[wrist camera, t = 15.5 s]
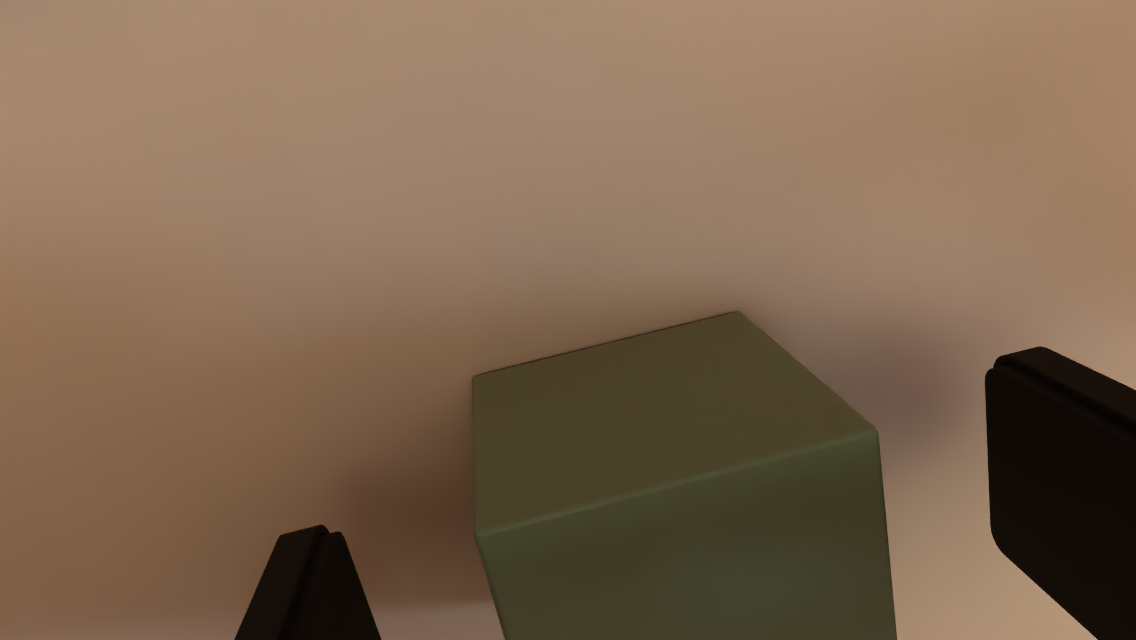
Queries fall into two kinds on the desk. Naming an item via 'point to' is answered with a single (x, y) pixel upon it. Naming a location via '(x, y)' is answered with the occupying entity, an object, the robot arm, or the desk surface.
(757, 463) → the sage green block
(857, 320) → the desk surface
